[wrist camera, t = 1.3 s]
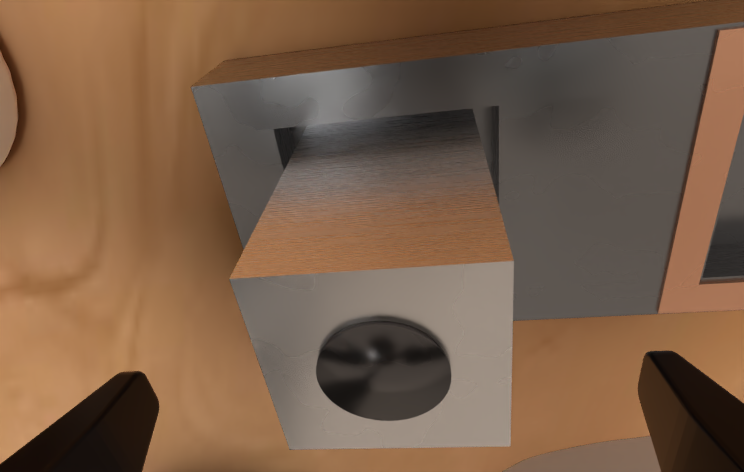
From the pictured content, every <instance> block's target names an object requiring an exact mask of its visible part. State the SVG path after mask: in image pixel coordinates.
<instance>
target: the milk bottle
mask: <svg viewBox="0 0 744 472" xmlns="http://www.w3.org/2000/svg"><path fill="white" fill-rule="evenodd" d="M17 122H18V109H17V95H16V92H15V88H14V85H13V81H12V77H11V73H10V70H9V68H8V66H7V64H6V62H5V60H4V58H3V56H2V53H1V51H0V166H1V165H2V164H3V162H4V161H5V159H6V157H7V155H8V154H9V151H10V149H11V146H12V144H13V141H14V139H15V136H16V127H17Z"/></svg>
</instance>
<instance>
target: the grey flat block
mask: <svg viewBox="0 0 744 472" xmlns="http://www.w3.org/2000/svg"><path fill="white" fill-rule="evenodd" d="M191 89H192V92H193V95H194V98H195V101H196V104H197V107H198V110H199V113H200V117H201V120H202V123H203V126H204V129H205V132H206V135H207V138H208V141H209V144H210V147H211V151H212V154H213V157H214V160H215V163H216V166H217V169H218V172H219V175H220V178H221V181H222V185H223V188H224V191H225V194H226V197H227V200H228V203H229V206H230V209H231V212H232V215H233V219H234V222H235V225H236V228H237V231H238V234H239V237H240V240H241V243H242V246H243V249H245V247H246V245H247V243H248V241H249V239H250V237H251V235H252V233H253V231H254V229H255V227H256V225H257V223H258V221H259V219H260V217H261V215H262V213H263V211H264V209H265V207H266V205H267V204H268V202H269V200H270V198H271V196H272V194H273V192H274V190H275V188H276V186H277V184H278V182H279V180H280V178H281V176H282V174H283V172H284V170H285V168H286V166H287V164H288V162H289V160H290V158H291V156H292V154H293V152H294V150H295V148H296V146H297V145H298V143H299V141H300V139H301V137H302V135H303V133H304V131H305V129H306V127H307V125H317V124H326V123H336V122H346V121H355V120H365V119H375V118H384V117H394V116H404V115H413V114H423V113H433V112H442V111H452V110H461V109H471V108H472V109H473V112H474V116H475V120H476V123H477V127H478V131H479V134H480V138H481V142H482V145H483V149H484V153H485V157H486V160H487V164H488V168H489V171H490V175H491V179H492V182H493V186H494V190H495V193H496V197H497V201H498V204H499V208H500V212H501V215H502V219H503V223H504V226H505V230H506V234H507V237H508V241H509V245H510V248H511V252H512V256H513V259H514V283H513V321H518V320H539V319H561V318H582V317H603V316H624V315H645V314H666V313H687V312H708V311H729V310H744V0H709V1H701V2H693V3H685V4H677V5H669V6H661V7H653V8H645V9H637V10H629V11H621V12H613V13H604V14H596V15H588V16H580V17H572V18H564V19H556V20H548V21H540V22H532V23H524V24H516V25H508V26H500V27H492V28H484V29H476V30H468V31H460V32H452V33H444V34H435V35H427V36H419V37H411V38H403V39H395V40H387V41H379V42H371V43H363V44H355V45H347V46H339V47H331V48H323V49H315V50H307V51H299V52H291V53H283V54H274V55H266V56H258V57H250V58H242V59H234V60H226V61H223V62H222V63H221V64H219V65H218V66H217V67H216V68H214V69H213V70H212V71H211V72H209V73H208V74H207V75H205V76H204V77H203V78H202V79H200V80H199V81H198V82H197V83H195V84H194V85H193V86H191Z"/></svg>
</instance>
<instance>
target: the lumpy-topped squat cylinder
mask: <svg viewBox="0 0 744 472" xmlns="http://www.w3.org/2000/svg"><path fill="white" fill-rule="evenodd" d="M503 472H661V469H660V466H659V463H658V460H657V456H656V453H655V450H654V446H653V443H652V440H651V436H646V437H638V438H630V439H621V440H613V441H606V442H600V443H594V444H588V445H583V446H577V447H572V448H567V449H563V450H558V451H554V452H549V453H545V454H541V455H538V456H534V457H531V458H528V459H526V460H523V461H521V462H519V463H517V464H515V465H513V466H511V467H510V468H508V469H506V470H504V471H503Z"/></svg>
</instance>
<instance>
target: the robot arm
mask: <svg viewBox="0 0 744 472" xmlns="http://www.w3.org/2000/svg"><path fill="white" fill-rule="evenodd" d="M638 395H639V400H640V403H641V406H642V410H643V413H644V416H645V420H646V423H647V426H648V430H649V433H650V436H651V440H652V443H653V446H654V450H655V453H656V456H657V460H658V463H659V466H660V469H661V472H744V403H742V402H741V401H740V400H738V399H737V398H736V397H734V396H733V395H732V394H730V393H729V392H728V391H726V390H725V389H724V388H722V387H721V386H720V385H718V384H717V383H716V382H714V381H713V380H712V379H710V378H709V377H708V376H707V375H705V374H704V373H703V372H701V371H700V370H699V369H697V368H696V367H695V366H693V365H692V364H691V363H689V362H688V361H687V360H685V359H684V358H683V357H681V356H680V355H679V354H677V353H675V352H673V351H650V352H647V353H646V354H645V356H644V359H643V363H642V368H641V373H640V378H639V382H638ZM158 412H159V401H158V398H157V396H156V394H155V392H154V390H153V388H152V387H151V385H150V383H149V381H148V379H147V377H146V375H145V374H144V373H142V372H140V371H132V372H121V373H119V374H117V375H116V376H114V377H113V378H112V379H110V380H109V381H108V382H106V383H105V384H104V385H103V386H101V387H100V388H99V389H97V390H96V391H95V392H93V393H92V394H91V395H90V396H88V397H87V398H86V399H84V400H83V401H82V402H80V403H79V404H78V405H77V406H75V407H74V408H73V409H71V410H70V411H69V412H67V413H66V414H65V415H64V416H62V417H61V418H60V419H58V420H57V421H56V422H54V423H53V424H52V425H51V426H49V427H48V428H47V429H45V430H44V431H43V432H41V433H40V434H39V435H38V436H36V437H35V438H34V439H32V440H31V441H30V442H28V443H27V444H26V445H25V446H23V447H22V448H21V449H19V450H18V451H17V452H15V453H14V454H13V455H11V456H10V457H9V458H8V459H6V460H5V461H4V462H2V463H1V464H0V472H142V470H143V466H144V463H145V459H146V455H147V452H148V448H149V445H150V441H151V438H152V434H153V430H154V427H155V423H156V420H157V416H158Z"/></svg>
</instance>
